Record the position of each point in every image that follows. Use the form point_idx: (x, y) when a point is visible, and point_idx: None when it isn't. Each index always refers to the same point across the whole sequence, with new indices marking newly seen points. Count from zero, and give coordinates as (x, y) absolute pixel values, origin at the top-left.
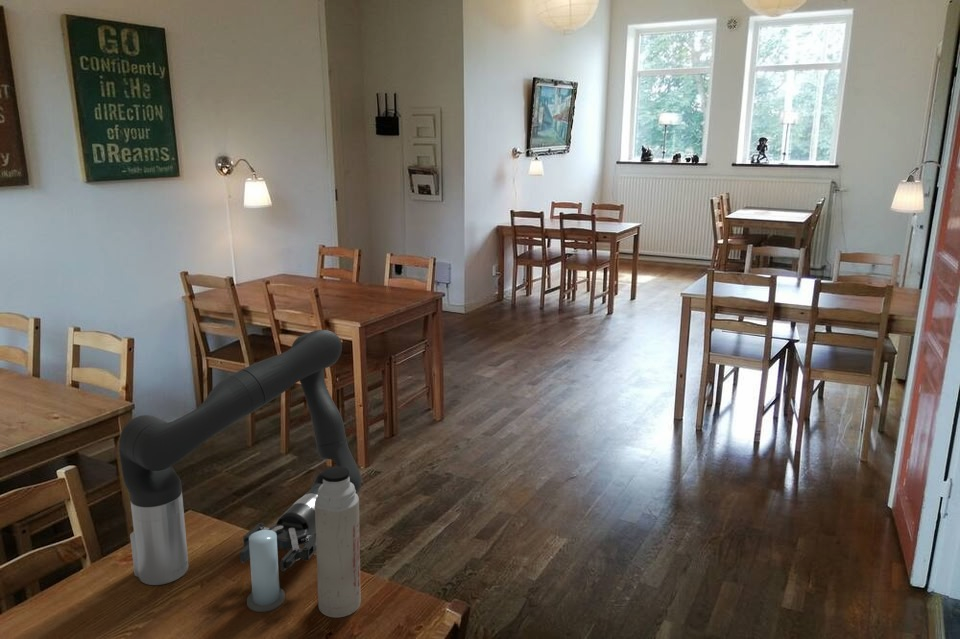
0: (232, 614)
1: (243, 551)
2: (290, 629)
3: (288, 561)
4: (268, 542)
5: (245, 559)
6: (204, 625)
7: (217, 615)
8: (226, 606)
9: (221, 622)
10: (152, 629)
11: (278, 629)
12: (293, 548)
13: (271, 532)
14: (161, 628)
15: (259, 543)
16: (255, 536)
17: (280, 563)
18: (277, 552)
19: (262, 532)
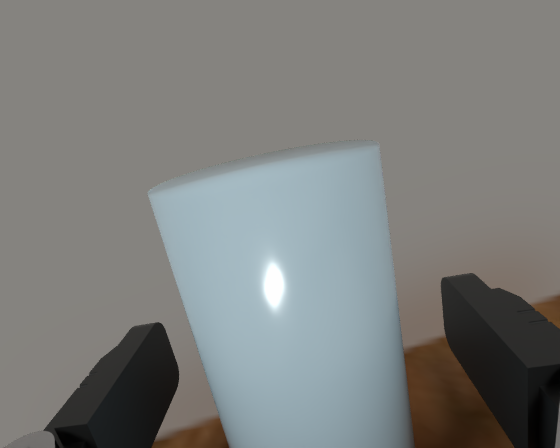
0: (412, 417)
1: (464, 281)
2: (170, 436)
3: (110, 352)
4: (194, 172)
5: (453, 339)
6: (445, 352)
7: (457, 394)
8: (482, 442)
9: (410, 377)
10: (554, 299)
11: (210, 422)
12: (46, 444)
13: (212, 187)
14: (538, 308)
15: (249, 158)
16: (325, 151)
17: (163, 330)
18: (198, 351)
19: (302, 164)
